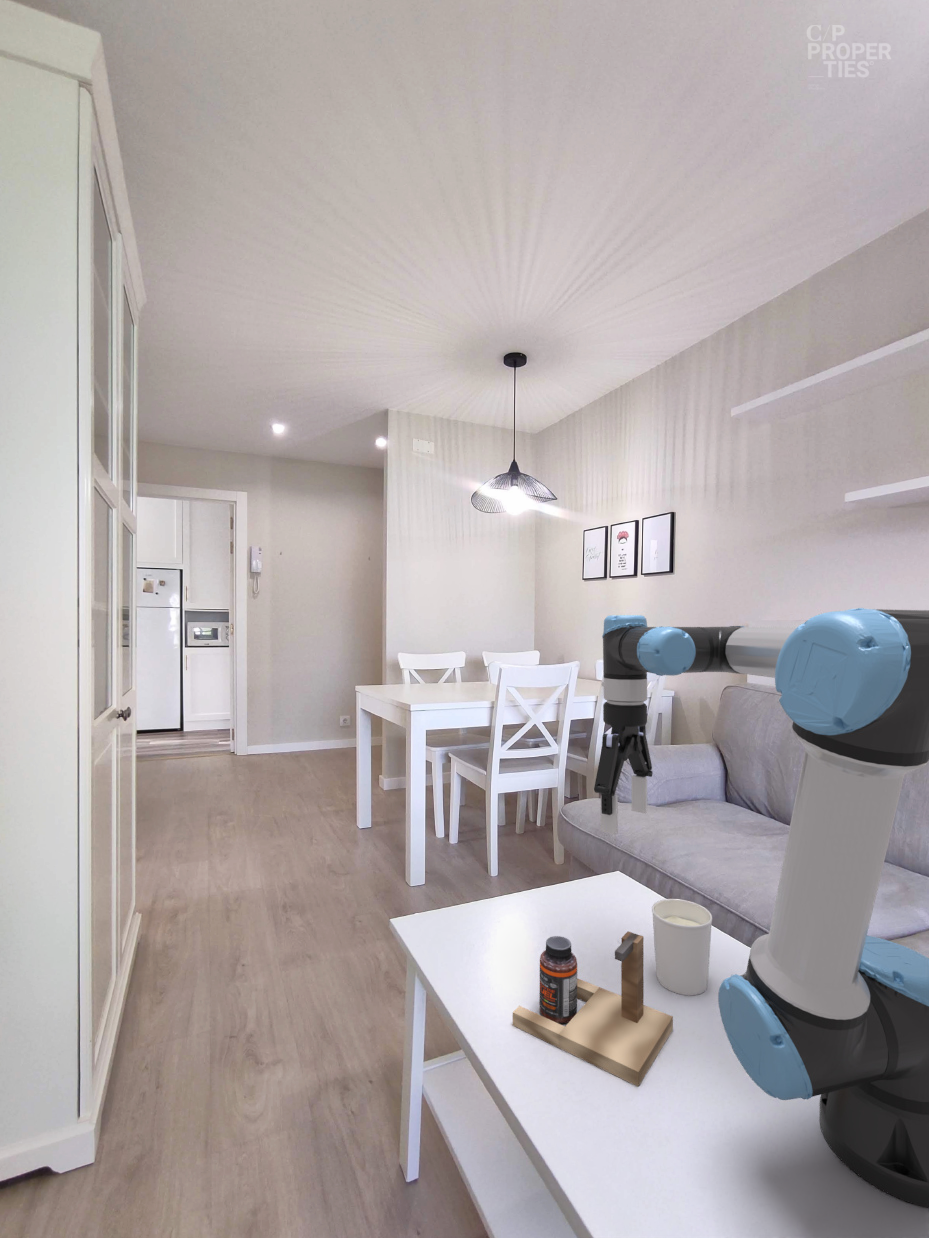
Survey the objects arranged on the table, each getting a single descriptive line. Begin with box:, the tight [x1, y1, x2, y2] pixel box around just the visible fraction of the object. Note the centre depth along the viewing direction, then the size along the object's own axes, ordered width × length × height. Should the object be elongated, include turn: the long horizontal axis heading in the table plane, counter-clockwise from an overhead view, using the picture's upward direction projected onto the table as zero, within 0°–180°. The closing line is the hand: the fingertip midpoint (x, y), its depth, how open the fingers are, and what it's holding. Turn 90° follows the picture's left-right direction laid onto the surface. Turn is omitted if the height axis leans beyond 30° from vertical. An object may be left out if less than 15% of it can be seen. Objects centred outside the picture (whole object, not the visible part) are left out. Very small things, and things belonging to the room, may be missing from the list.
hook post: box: [614, 931, 644, 1023], centre depth 90 cm, size 2×6×12 cm, turn 143°
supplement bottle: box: [538, 935, 578, 1024], centre depth 95 cm, size 6×6×11 cm
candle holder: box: [651, 898, 713, 996], centre depth 104 cm, size 10×10×12 cm
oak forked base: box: [512, 977, 674, 1087], centre depth 92 cm, size 20×14×2 cm
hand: (625, 821), depth 106 cm, fingers open, 13 cm apart
